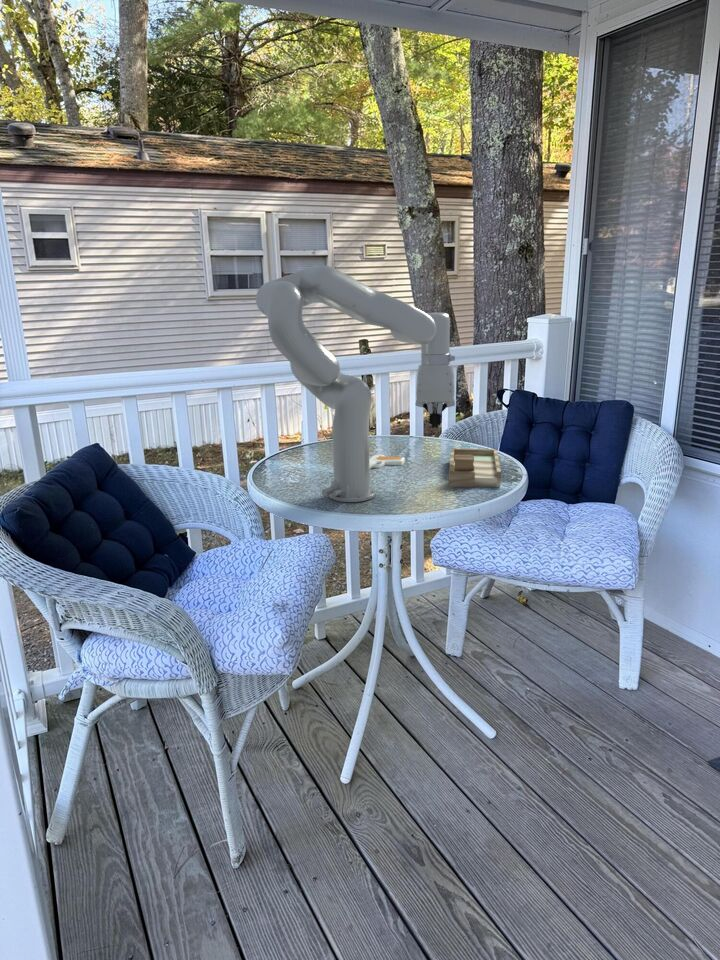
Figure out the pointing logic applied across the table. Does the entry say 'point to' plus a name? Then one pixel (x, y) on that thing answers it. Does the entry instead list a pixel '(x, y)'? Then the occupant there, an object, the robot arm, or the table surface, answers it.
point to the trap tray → (476, 470)
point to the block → (463, 462)
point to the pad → (483, 458)
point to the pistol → (384, 461)
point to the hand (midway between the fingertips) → (435, 427)
